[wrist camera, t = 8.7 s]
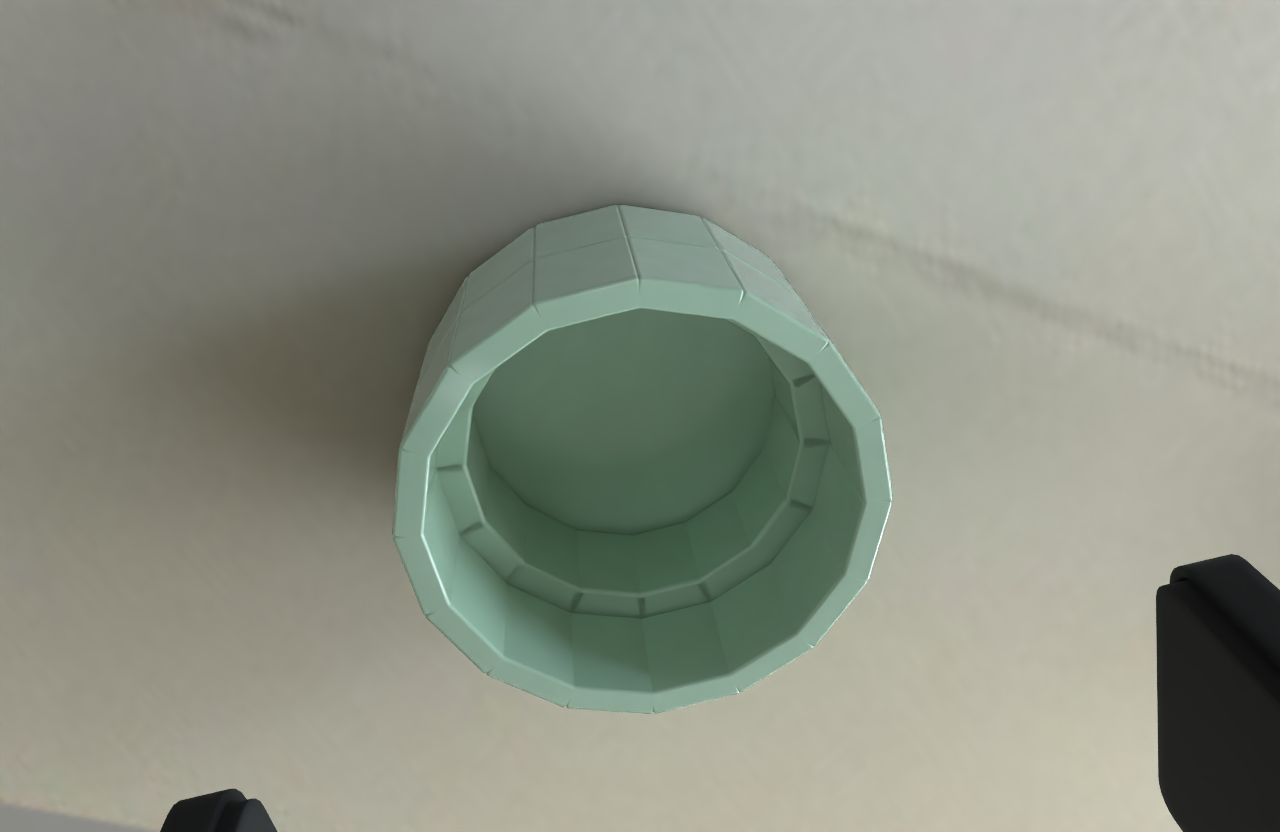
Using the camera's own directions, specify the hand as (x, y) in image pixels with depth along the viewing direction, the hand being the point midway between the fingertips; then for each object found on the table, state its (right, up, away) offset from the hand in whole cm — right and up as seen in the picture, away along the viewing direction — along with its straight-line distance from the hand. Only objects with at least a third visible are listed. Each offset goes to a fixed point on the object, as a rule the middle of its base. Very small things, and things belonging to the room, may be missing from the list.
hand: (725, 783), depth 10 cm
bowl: (-1, +4, +9) cm, 10 cm away
